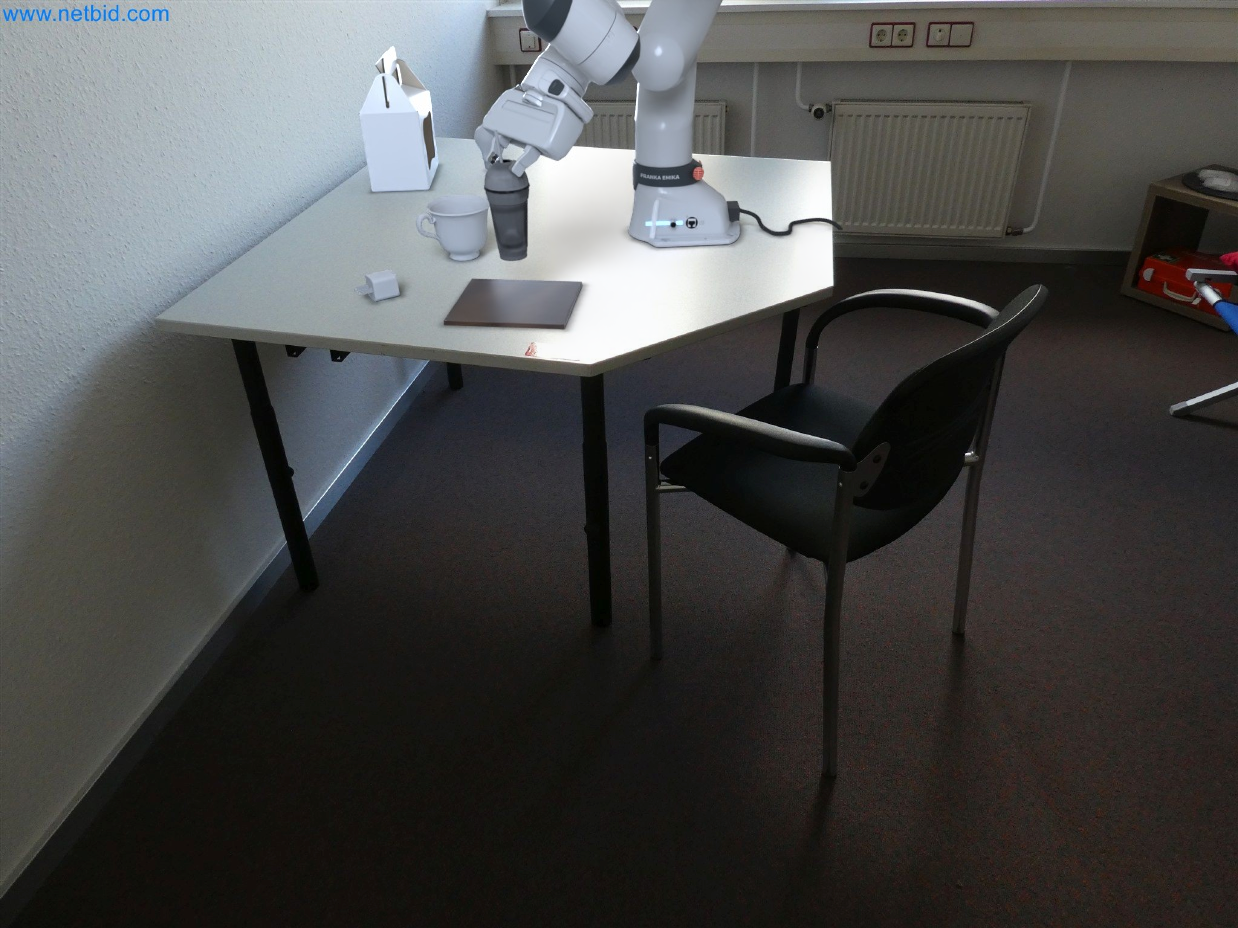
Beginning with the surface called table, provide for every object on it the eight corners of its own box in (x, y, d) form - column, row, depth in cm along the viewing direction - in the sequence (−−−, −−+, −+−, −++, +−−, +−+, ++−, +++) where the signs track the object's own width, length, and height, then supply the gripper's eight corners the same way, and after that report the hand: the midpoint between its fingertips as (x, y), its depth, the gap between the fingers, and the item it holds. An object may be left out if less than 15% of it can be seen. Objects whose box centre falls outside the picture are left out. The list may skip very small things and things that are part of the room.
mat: (582, 285, 160) (582, 281, 160) (564, 329, 145) (564, 324, 145) (472, 282, 162) (471, 278, 162) (444, 325, 148) (443, 320, 147)
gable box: (386, 166, 227) (366, 45, 212) (439, 164, 228) (423, 43, 212) (371, 193, 209) (349, 62, 193) (429, 190, 209) (411, 60, 194)
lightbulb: (501, 174, 219) (497, 127, 213) (476, 174, 219) (471, 127, 213) (504, 167, 224) (500, 121, 218) (479, 167, 224) (475, 121, 218)
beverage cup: (518, 267, 145) (506, 138, 134) (482, 259, 148) (467, 133, 137) (544, 252, 150) (534, 127, 139) (509, 245, 153) (497, 123, 142)
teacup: (408, 258, 173) (400, 206, 168) (476, 240, 181) (470, 190, 175) (438, 276, 165) (430, 222, 160) (507, 256, 173) (503, 205, 167)
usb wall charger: (400, 297, 158) (396, 275, 155) (361, 306, 155) (357, 284, 152) (391, 289, 160) (388, 268, 158) (354, 298, 157) (349, 277, 155)
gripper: (502, 70, 145) (455, 144, 145) (574, 90, 131) (522, 171, 131) (528, 96, 149) (483, 167, 150) (600, 117, 135) (550, 195, 136)
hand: (502, 169), depth 141 cm, fingers closed on beverage cup, 5 cm apart
